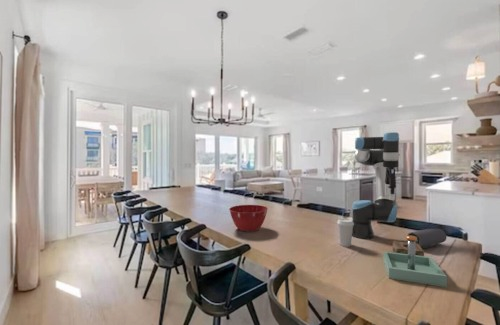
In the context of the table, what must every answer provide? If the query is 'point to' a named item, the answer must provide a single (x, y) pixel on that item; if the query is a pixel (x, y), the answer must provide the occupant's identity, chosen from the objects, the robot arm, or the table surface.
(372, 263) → the table surface
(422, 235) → the bluetooth speaker
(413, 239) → the pin
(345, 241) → the coffee cup
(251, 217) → the mixing bowl
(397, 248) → the wooden socket block
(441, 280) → the parts tray
